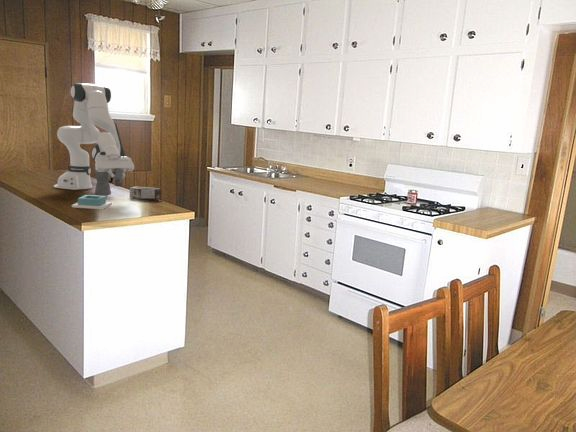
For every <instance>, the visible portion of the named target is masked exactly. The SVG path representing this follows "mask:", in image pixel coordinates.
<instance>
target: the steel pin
mask: <svg viewBox="0 0 576 432" xmlns="http://www.w3.org/2000/svg"><path fill="white" fill-rule="evenodd" d="M122 171H123V169H115V172H114V173H115V175H116V177H115V178H114V186H115V187H123V178H122Z"/></svg>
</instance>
